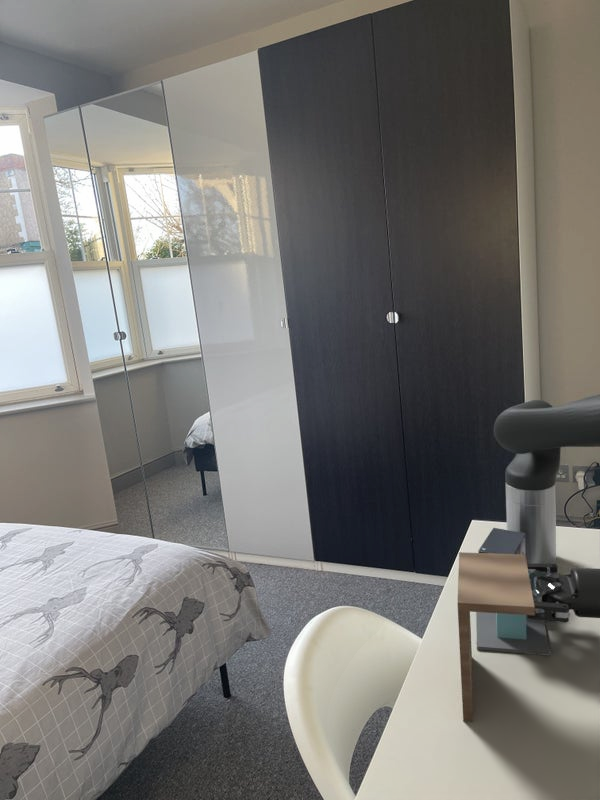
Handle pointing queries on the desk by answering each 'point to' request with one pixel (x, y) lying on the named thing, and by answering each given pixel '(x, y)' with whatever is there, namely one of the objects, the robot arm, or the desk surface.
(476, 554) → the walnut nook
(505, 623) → the teal block
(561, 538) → the desk surface
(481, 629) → the rubber mat
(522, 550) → the small box
